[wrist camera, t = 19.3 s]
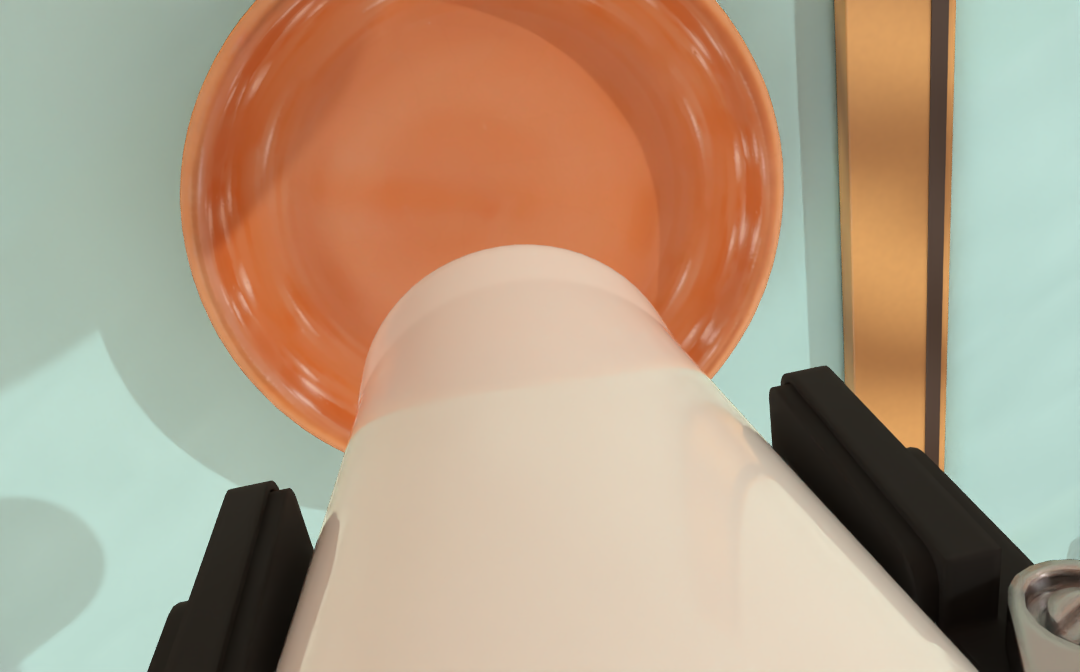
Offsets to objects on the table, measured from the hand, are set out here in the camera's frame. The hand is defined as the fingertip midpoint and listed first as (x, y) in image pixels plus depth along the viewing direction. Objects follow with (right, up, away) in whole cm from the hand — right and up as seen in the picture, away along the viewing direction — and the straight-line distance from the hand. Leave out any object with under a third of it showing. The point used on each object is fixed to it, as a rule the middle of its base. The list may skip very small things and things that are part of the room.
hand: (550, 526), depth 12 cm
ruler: (+10, +9, +15) cm, 20 cm away
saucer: (-2, +7, +15) cm, 16 cm away
